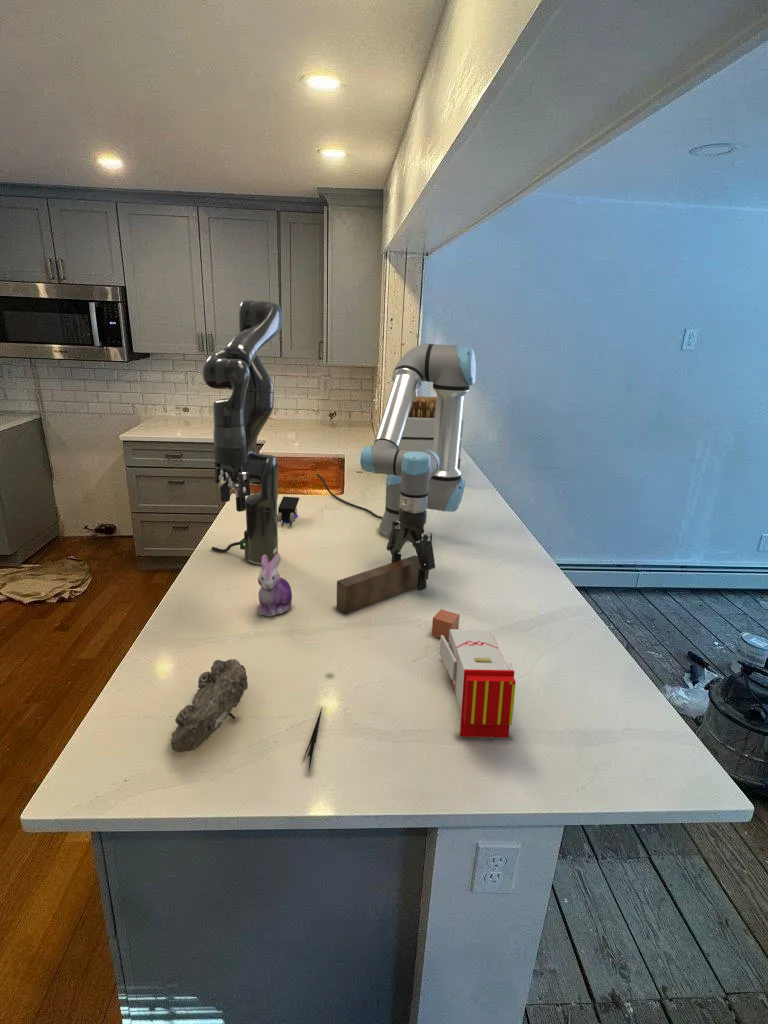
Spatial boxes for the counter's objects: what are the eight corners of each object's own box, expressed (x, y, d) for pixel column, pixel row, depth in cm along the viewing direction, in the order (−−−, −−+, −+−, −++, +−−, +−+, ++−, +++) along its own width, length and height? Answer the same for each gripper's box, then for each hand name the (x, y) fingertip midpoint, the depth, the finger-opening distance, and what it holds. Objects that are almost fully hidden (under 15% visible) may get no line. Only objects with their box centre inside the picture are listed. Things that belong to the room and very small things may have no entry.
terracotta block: (431, 635, 139) (432, 617, 137) (439, 626, 143) (441, 608, 141) (450, 641, 136) (451, 623, 135) (458, 632, 140) (459, 614, 139)
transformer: (381, 463, 289) (385, 382, 275) (444, 464, 292) (450, 384, 279) (389, 482, 257) (393, 392, 243) (459, 483, 261) (467, 394, 247)
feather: (331, 679, 122) (336, 673, 122) (307, 777, 96) (313, 769, 95) (324, 675, 122) (329, 669, 121) (298, 772, 95) (304, 764, 95)
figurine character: (295, 532, 200) (300, 513, 214) (294, 513, 197) (299, 495, 210) (276, 531, 200) (282, 512, 213) (275, 512, 197) (281, 494, 210)
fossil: (195, 660, 117) (247, 628, 112) (227, 691, 120) (279, 661, 115) (146, 746, 98) (206, 711, 93) (185, 779, 101) (245, 748, 96)
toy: (489, 613, 130) (525, 677, 101) (485, 667, 133) (518, 744, 104) (437, 612, 130) (457, 676, 101) (434, 666, 133) (453, 743, 103)
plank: (345, 614, 146) (346, 586, 144) (336, 608, 149) (336, 580, 146) (423, 584, 164) (424, 559, 161) (413, 579, 167) (415, 555, 164)
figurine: (263, 621, 141) (261, 566, 136) (252, 602, 149) (250, 550, 144) (299, 613, 145) (298, 560, 140) (286, 596, 154) (285, 545, 148)
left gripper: (202, 439, 140) (206, 501, 146) (229, 451, 130) (232, 517, 136) (230, 435, 145) (233, 496, 150) (258, 447, 135) (260, 511, 140)
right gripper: (376, 500, 160) (373, 571, 168) (433, 524, 144) (427, 601, 152) (395, 495, 165) (392, 565, 173) (453, 518, 149) (446, 593, 157)
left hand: (233, 506), depth 143 cm, fingers open, 8 cm apart
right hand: (408, 582), depth 162 cm, fingers open, 10 cm apart
